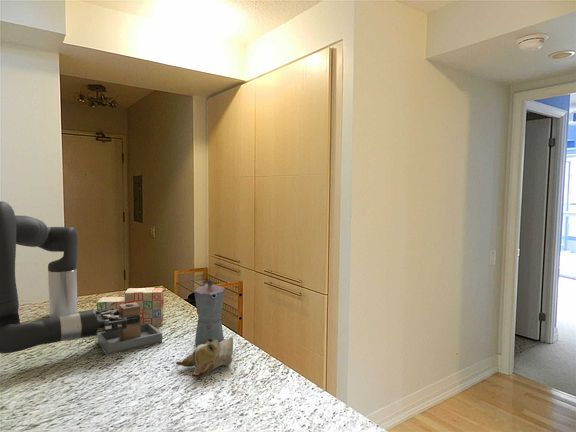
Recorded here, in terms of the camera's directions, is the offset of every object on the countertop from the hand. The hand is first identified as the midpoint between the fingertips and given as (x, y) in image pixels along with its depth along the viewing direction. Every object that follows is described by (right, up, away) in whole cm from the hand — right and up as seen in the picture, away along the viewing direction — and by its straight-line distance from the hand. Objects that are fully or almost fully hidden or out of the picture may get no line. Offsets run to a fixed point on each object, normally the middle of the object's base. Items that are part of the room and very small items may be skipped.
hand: (135, 314), depth 122 cm
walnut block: (-1, -8, 0) cm, 8 cm away
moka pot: (+23, -9, +1) cm, 25 cm away
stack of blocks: (-8, -8, +16) cm, 19 cm away
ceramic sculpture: (+27, -11, -17) cm, 34 cm away
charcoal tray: (-1, -9, 0) cm, 9 cm away
